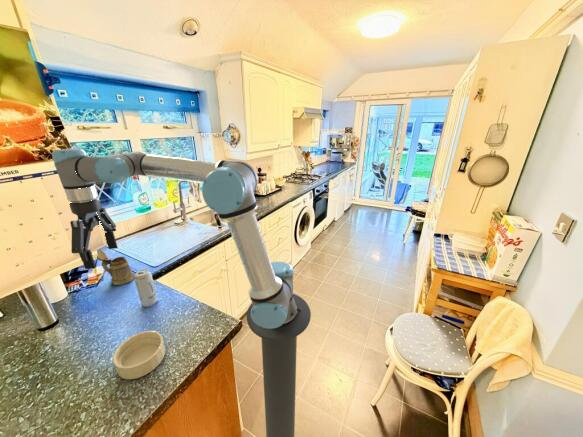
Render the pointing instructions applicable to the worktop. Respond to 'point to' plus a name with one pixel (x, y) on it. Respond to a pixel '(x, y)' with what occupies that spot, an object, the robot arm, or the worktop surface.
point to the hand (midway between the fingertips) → (103, 257)
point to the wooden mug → (116, 268)
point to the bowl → (139, 354)
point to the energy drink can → (145, 288)
